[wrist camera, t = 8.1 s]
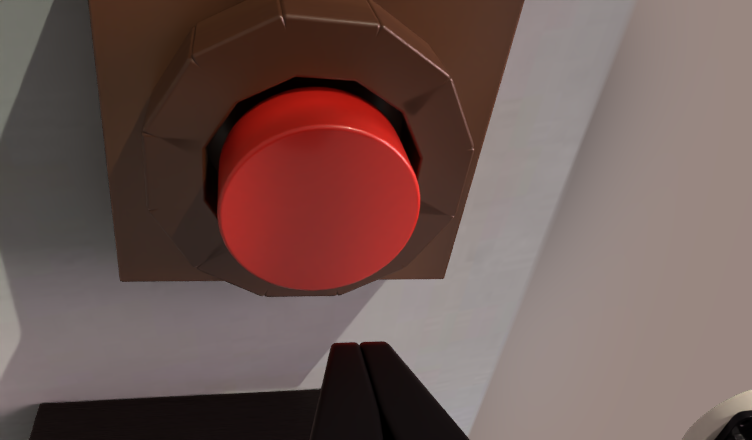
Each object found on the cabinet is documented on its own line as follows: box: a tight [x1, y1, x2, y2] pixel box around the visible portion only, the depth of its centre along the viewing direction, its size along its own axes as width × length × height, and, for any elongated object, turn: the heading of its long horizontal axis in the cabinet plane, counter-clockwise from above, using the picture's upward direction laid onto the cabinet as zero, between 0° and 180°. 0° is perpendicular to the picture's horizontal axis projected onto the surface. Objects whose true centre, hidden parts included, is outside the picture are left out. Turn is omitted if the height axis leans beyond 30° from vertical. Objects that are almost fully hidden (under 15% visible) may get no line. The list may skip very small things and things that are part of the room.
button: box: [217, 87, 420, 291], centre depth 13 cm, size 4×4×2 cm
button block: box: [88, 0, 524, 297], centre depth 15 cm, size 9×9×4 cm
